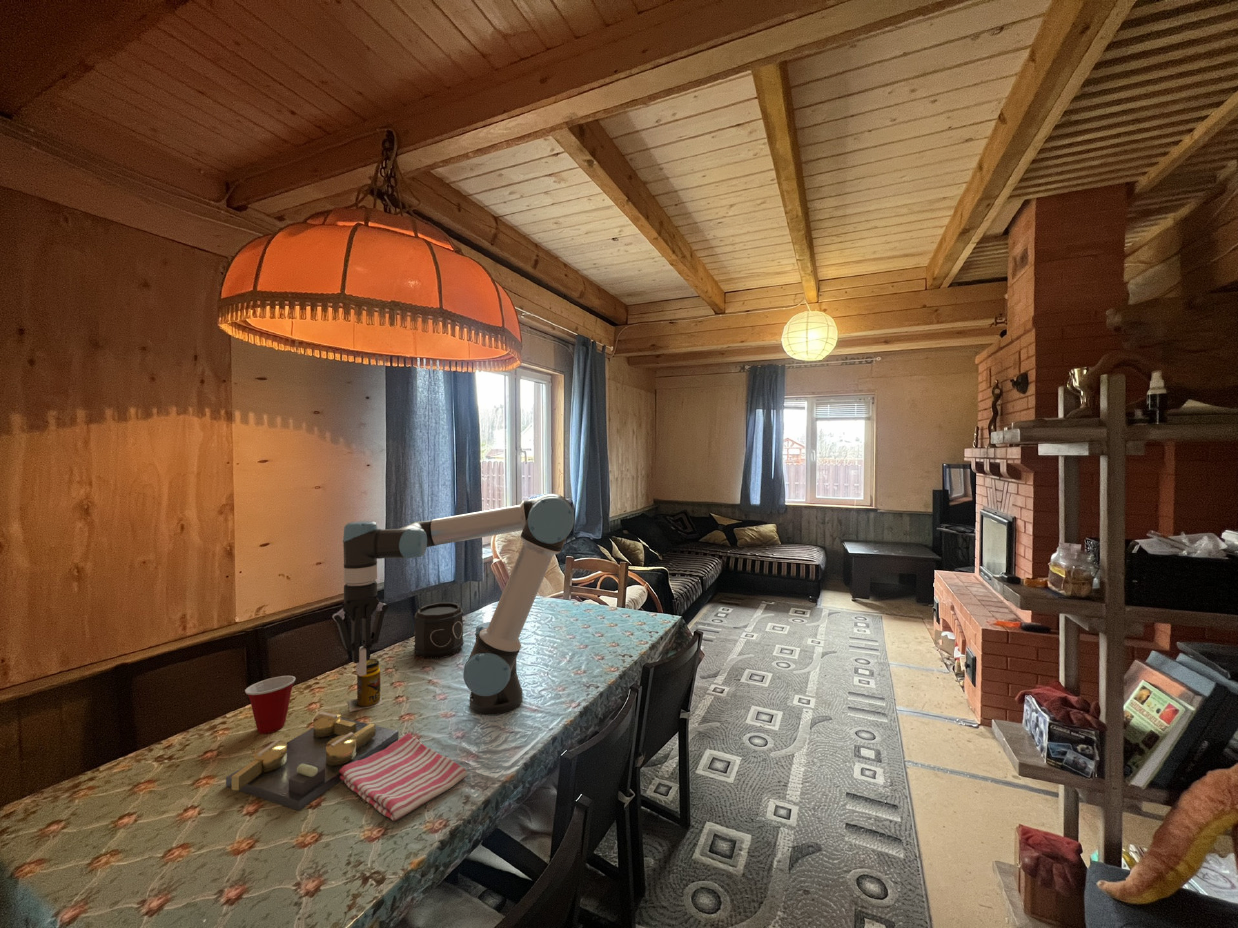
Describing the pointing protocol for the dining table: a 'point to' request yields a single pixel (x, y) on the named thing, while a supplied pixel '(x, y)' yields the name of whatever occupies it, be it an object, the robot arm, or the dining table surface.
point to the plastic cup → (270, 702)
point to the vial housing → (306, 778)
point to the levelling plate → (310, 752)
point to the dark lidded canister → (438, 630)
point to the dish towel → (401, 777)
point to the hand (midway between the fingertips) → (361, 673)
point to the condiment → (367, 688)
